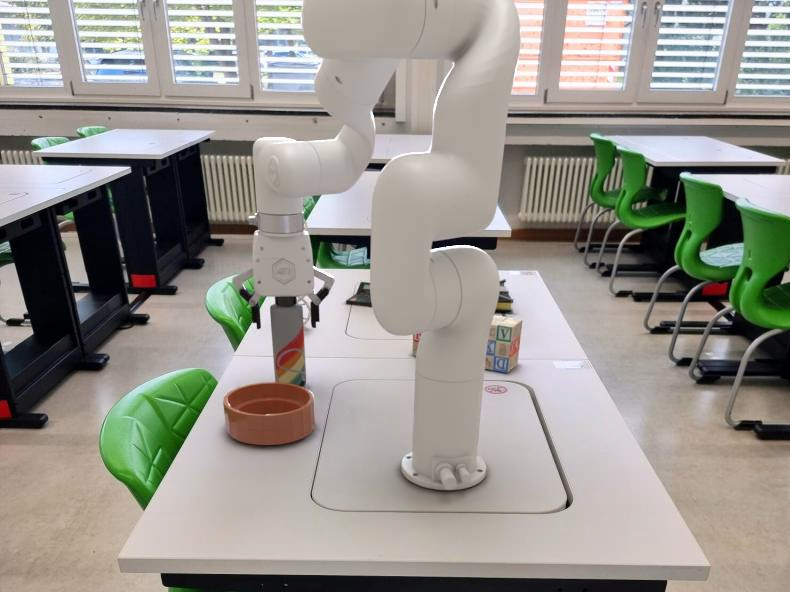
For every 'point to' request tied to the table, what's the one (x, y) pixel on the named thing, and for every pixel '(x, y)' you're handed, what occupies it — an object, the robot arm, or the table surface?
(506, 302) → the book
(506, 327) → the stack of blocks
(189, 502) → the table surface
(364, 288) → the calculator
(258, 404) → the bowl
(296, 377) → the lotion bottle
